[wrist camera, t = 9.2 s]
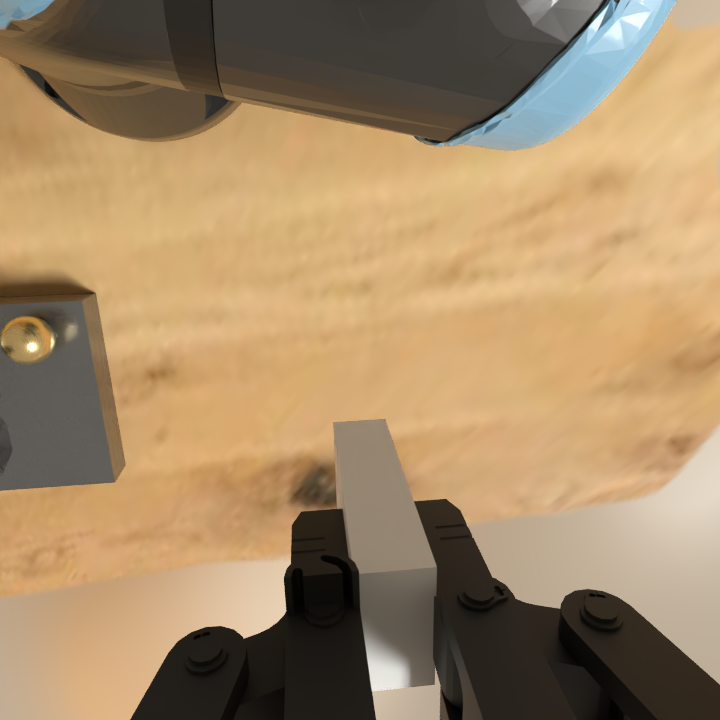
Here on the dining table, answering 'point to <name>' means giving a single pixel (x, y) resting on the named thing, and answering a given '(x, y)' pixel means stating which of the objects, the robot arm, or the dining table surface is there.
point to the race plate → (59, 401)
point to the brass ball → (27, 340)
